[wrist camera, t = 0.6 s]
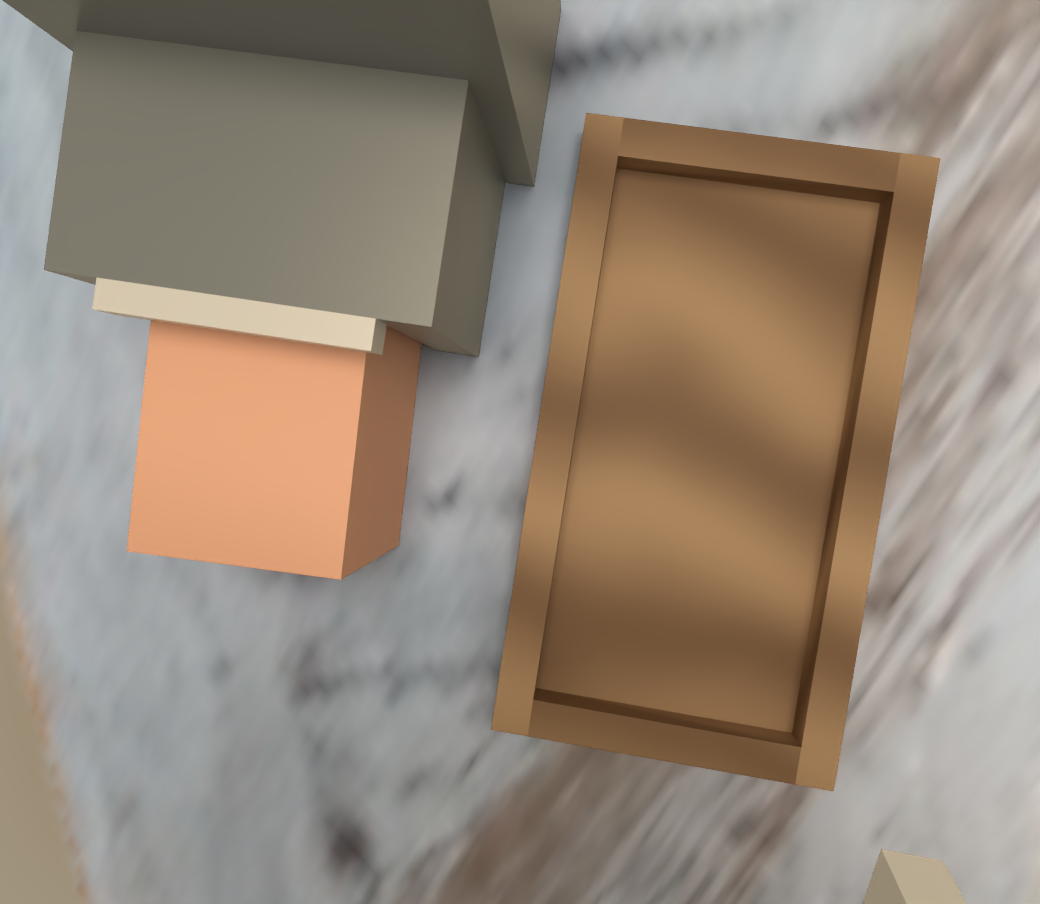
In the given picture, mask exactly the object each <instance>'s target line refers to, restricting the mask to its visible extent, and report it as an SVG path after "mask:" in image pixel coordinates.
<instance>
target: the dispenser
mask: <svg viewBox="0 0 1040 904" xmlns="http://www.w3.org/2000/svg"><path fill="white" fill-rule="evenodd" d="M3 1H4V2H6V3H7V4H8V5H10V6H11V7H13V8H14V9H15V10H17V11H18V12H19V13H21V14H22V15H24V16H25V17H26V18H28V19H29V20H30V21H32V22H33V23H35V24H36V25H37V26H39V27H40V28H41V29H43V30H44V31H46V32H47V33H48V34H50V35H51V36H52V37H54V38H55V39H57V40H58V41H59V42H61V43H62V44H63V45H65V46H66V47H68V48H69V49H70V50H72V51H73V56H72V63H71V71H70V78H69V86H68V93H67V101H66V108H65V116H64V123H63V130H62V138H61V145H60V153H59V160H58V168H57V175H56V183H55V190H54V198H53V205H52V213H51V220H50V227H49V235H48V242H47V250H46V257H45V265H44V270H47V271H50V272H53V273H57V274H60V275H64V276H67V277H71V278H74V279H77V280H81V281H84V282H88V283H91V284H95V293H94V300H93V308H92V309H94V310H98V311H102V312H106V313H110V314H115V315H120V316H126V317H133V318H140V319H146V320H153V321H160V322H166V323H173V324H180V325H186V326H193V327H200V328H206V329H213V330H220V331H226V332H233V333H240V334H246V335H253V336H259V337H266V338H273V339H279V340H286V341H293V342H299V343H306V344H313V345H319V346H326V347H333V348H339V349H346V350H353V351H359V352H366V353H373V354H379V355H382V353H383V346H384V339H385V333H386V326H389V327H391V328H393V329H395V330H397V331H399V332H401V333H403V334H404V335H406V336H408V337H410V338H412V339H414V340H416V341H418V342H420V343H422V344H424V345H426V346H428V347H430V348H432V349H434V350H437V351H443V352H450V353H457V354H464V355H470V356H477V357H479V352H480V345H481V338H482V332H483V325H484V319H485V312H486V306H487V299H488V292H489V286H490V279H491V273H492V266H493V259H494V253H495V246H496V240H497V233H498V226H499V220H500V213H501V207H502V200H503V193H504V187H505V183H513V184H520V185H527V186H534V183H535V177H536V170H537V164H538V157H539V151H540V144H541V138H542V131H543V125H544V118H545V111H546V105H547V98H548V92H549V85H550V79H551V72H552V66H553V59H554V53H555V46H556V40H557V33H558V26H559V20H560V13H561V1H560V0H3Z"/></svg>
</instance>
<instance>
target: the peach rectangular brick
mask: <svg viewBox="0 0 1040 904" xmlns="http://www.w3.org/2000/svg"><path fill="white" fill-rule="evenodd" d="M421 345H422V343H420V342H418V341H416V340H414V339H412V338H410V337H408V336H406V335H404V334H403V333H401V332H399V331H397V330H395V329H393V328H391V327H389V326H386V333H385V339H384V346H383V353H382V355H379V354H373V353H366V352H359V351H353V350H346V349H339V348H333V347H326V346H319V345H313V344H306V343H299V342H293V341H286V340H279V339H273V338H266V337H259V336H253V335H246V334H240V333H233V332H226V331H220V330H213V329H206V328H200V327H193V326H186V325H180V324H173V323H166V322H160V321H153V320H151V323H150V333H149V342H148V352H147V361H146V371H145V381H144V390H143V400H142V410H141V419H140V429H139V438H138V448H137V458H136V467H135V477H134V487H133V496H132V506H131V515H130V525H129V535H128V544H127V551H129V552H137V553H144V554H152V555H159V556H167V557H174V558H182V559H189V560H197V561H204V562H212V563H219V564H227V565H234V566H242V567H249V568H257V569H265V570H272V571H280V572H287V573H295V574H302V575H310V576H317V577H325V578H332V579H340V580H341V579H343V578H344V577H346V576H348V575H349V574H351V573H353V572H355V571H356V570H358V569H360V568H361V567H363V566H365V565H366V564H368V563H370V562H371V561H373V560H375V559H377V558H378V557H380V556H382V555H383V554H385V553H387V552H388V551H390V550H392V549H393V548H395V547H397V546H399V539H400V530H401V521H402V513H403V504H404V495H405V486H406V477H407V469H408V460H409V451H410V442H411V433H412V425H413V416H414V407H415V398H416V389H417V380H418V372H419V363H420V354H421Z"/></svg>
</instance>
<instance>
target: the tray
mask: <svg viewBox="0 0 1040 904" xmlns="http://www.w3.org/2000/svg"><path fill="white" fill-rule="evenodd" d="M939 163H940V158H935V157H927V156H919V155H912V154H904V153H896V152H888V151H880V150H872V149H865V148H857V147H849V146H841V145H833V144H825V143H818V142H810V141H802V140H794V139H786V138H778V137H771V136H763V135H755V134H747V133H739V132H731V131H724V130H716V129H708V128H700V127H692V126H684V125H677V124H669V123H661V122H653V121H645V120H637V119H630V118H622V117H614V116H606V115H598V114H590V113H586V118H585V124H584V131H583V137H582V144H581V150H580V157H579V163H578V170H577V176H576V183H575V189H574V196H573V202H572V209H571V215H570V222H569V228H568V235H567V241H566V247H565V254H564V260H563V267H562V273H561V280H560V286H559V293H558V299H557V306H556V312H555V319H554V325H553V332H552V338H551V345H550V351H549V358H548V364H547V370H546V377H545V383H544V390H543V396H542V403H541V409H540V416H539V422H538V429H537V435H536V442H535V448H534V455H533V461H532V468H531V474H530V481H529V487H528V494H527V500H526V506H525V513H524V519H523V526H522V532H521V539H520V545H519V552H518V558H517V565H516V571H515V578H514V584H513V591H512V597H511V604H510V610H509V617H508V623H507V629H506V636H505V642H504V649H503V655H502V662H501V668H500V675H499V681H498V688H497V694H496V701H495V707H494V714H493V720H492V727H491V730H496V731H502V732H507V733H513V734H518V735H524V736H529V737H535V738H540V739H546V740H551V741H557V742H563V743H568V744H574V745H579V746H585V747H590V748H596V749H601V750H607V751H612V752H618V753H624V754H629V755H635V756H640V757H646V758H651V759H657V760H662V761H668V762H673V763H679V764H685V765H690V766H696V767H701V768H707V769H712V770H718V771H723V772H729V773H734V774H740V775H746V776H751V777H757V778H762V779H768V780H773V781H779V782H784V783H790V784H795V785H801V786H807V787H812V788H818V789H823V790H829V791H834V786H835V780H836V774H837V768H838V762H839V756H840V750H841V744H842V738H843V732H844V726H845V720H846V715H847V709H848V703H849V697H850V691H851V685H852V679H853V673H854V667H855V661H856V655H857V649H858V643H859V637H860V631H861V626H862V620H863V614H864V608H865V602H866V596H867V590H868V584H869V578H870V572H871V566H872V560H873V554H874V548H875V542H876V537H877V531H878V525H879V519H880V513H881V507H882V501H883V495H884V489H885V483H886V477H887V471H888V465H889V459H890V454H891V448H892V442H893V436H894V430H895V424H896V418H897V412H898V406H899V400H900V394H901V388H902V382H903V376H904V370H905V365H906V359H907V353H908V347H909V341H910V335H911V329H912V323H913V317H914V311H915V305H916V299H917V293H918V287H919V281H920V276H921V270H922V264H923V258H924V252H925V246H926V240H927V234H928V228H929V222H930V216H931V210H932V204H933V198H934V193H935V187H936V181H937V175H938V169H939Z"/></svg>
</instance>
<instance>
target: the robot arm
mask: <svg viewBox="0 0 1040 904" xmlns="http://www.w3.org/2000/svg"><path fill="white" fill-rule="evenodd" d="M862 904H966V902H965V900H964V899H963V897H962V895H961V893H960V891H959V889H958V887H957V886H956V884H955V882H954V880H953V878H952V876H951V875H950V873H949V871H948V869H947V867H946V865H945V864H944V862H943V861H941V860H936V859H931V858H926V857H920V856H915V855H910V854H905V853H899V852H894V851H889V850H884V849H881V852H880V854H879V857H878V860H877V863H876V866H875V869H874V872H873V875H872V878H871V880H870V883H869V886H868V889H867V892H866V895H865V898H864V901H863V903H862Z"/></svg>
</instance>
